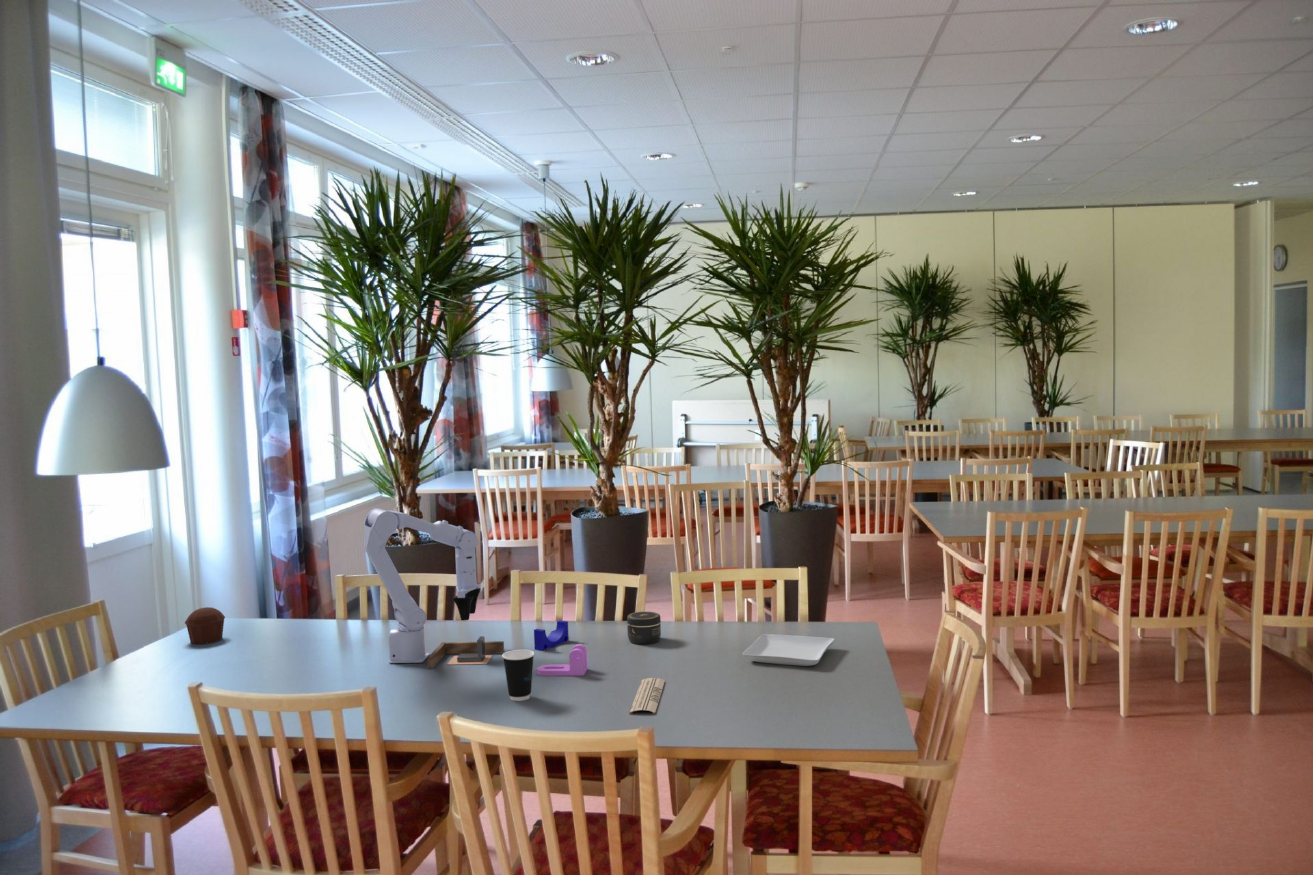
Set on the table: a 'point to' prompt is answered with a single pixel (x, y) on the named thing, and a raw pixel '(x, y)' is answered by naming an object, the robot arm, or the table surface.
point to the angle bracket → (474, 656)
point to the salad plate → (788, 649)
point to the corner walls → (462, 649)
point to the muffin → (205, 625)
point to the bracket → (574, 669)
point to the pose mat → (454, 662)
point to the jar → (644, 627)
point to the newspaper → (648, 695)
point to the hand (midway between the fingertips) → (468, 616)
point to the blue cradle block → (551, 636)
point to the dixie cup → (519, 673)
